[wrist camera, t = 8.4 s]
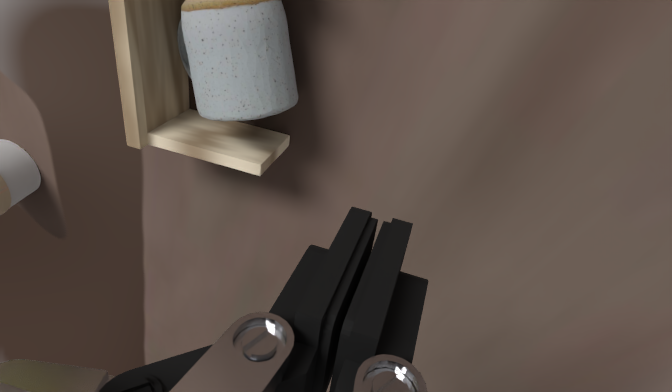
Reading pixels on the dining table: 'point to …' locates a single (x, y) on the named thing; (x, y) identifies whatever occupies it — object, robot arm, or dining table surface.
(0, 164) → the coffee cup
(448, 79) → the dining table surface
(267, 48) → the ceramic mug
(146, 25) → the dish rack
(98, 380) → the robot arm
